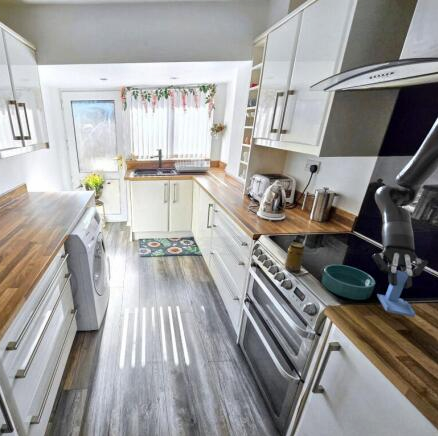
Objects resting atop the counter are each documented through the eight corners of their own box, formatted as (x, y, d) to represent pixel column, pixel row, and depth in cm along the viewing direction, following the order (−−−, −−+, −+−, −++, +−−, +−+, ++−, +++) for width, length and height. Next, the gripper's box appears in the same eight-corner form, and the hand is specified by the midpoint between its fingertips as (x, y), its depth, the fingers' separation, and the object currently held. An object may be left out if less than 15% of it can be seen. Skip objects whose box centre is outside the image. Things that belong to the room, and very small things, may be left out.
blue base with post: (376, 295, 83) (386, 268, 79) (402, 300, 81) (414, 272, 77) (385, 311, 76) (397, 282, 72) (414, 317, 74) (428, 288, 70)
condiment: (291, 263, 112) (296, 240, 108) (308, 272, 105) (314, 248, 100) (279, 266, 110) (284, 243, 106) (296, 276, 102) (301, 251, 98)
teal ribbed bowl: (363, 281, 97) (367, 269, 95) (376, 305, 85) (381, 291, 82) (318, 273, 104) (321, 261, 102) (324, 294, 91) (328, 281, 89)
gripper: (376, 229, 82) (377, 279, 77) (432, 236, 76) (439, 290, 71) (366, 237, 89) (367, 283, 83) (418, 244, 83) (422, 294, 77)
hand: (400, 286), depth 77 cm, fingers closed on blue base with post, 2 cm apart
